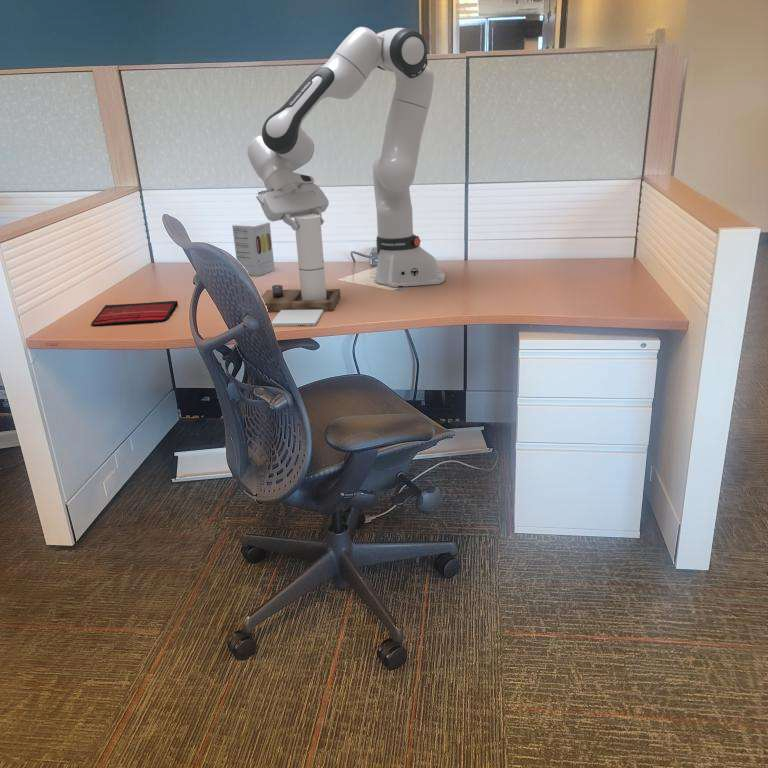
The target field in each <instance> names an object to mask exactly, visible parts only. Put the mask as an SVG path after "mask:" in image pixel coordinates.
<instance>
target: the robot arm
mask: <svg viewBox="0 0 768 768" xmlns="http://www.w3.org/2000/svg"><path fill="white" fill-rule="evenodd" d="M376 68H378V69H380V70H382V71H388V72H391V73H394V76H395V89H394V92H393V96H392V99H391V103H390V106H389V110H388V111H389V112H388V115H387V118H386V123H385V127H384V128H385V131H384V136H383V143H382V148H381V153H380V154H378V155H377V156H376V158H375V159H374V160H373V164H372V179H373V190H374V199H375V200H374V201H375V208H376V221H377V223H376V227H377V236H376V239H375V240H376V242H375V245H376V253H377V266H376V272H375V277H374V281H375V282H376V283H378V284H381V285H385V286H389V287H393V288H398V286H403V287H414V286H428V285H440V284H442V283H443V282H444V281H445V280H446V275H445V273H444V272H443V271H441V270H439V267H438V263H437V260H436V258H435V257H434V256H433V255H432V254H430V253H429V252H428V251H426V250H425V249H424V248H422V247H421V239H420V237H419V235H416V234H414V227H413V226H414V225H413V221H414V220H413V205H412V199H411V198H412V197H411V194H410V193H411V192H410V187H411V186H412V184H413V183H414V180H415V175H416V170H417V165H418V159H419V153H420V150H421V149H420V147H421V140H422V135H423V132H424V128H425V126H426V121H427V117H428V112H429V110H430V105H431V100H432V96H433V89H434V81H435V79H434V78H435V77H434V73H433V70H432V69H431V67H429V66H428V45H427V42H426V39H425V37H424V36H423V34H421V33H420V31H417V30H416V29H413V28H408V27H407V28H406V27H405V28H404V27H394V28H390V29H387V28H385V29H382V30H379V31H377V32H375V31H373V30H372V29H370V27H369V28H368V27H365V26H357V27H356V28H355V29H354V30H352V31H351V32H350V33H349V34H348V35H347V36H346V37H345V38H344V39H343V41H342V42H341V43H340V44H339V45H338V47H337V48H336V49H335V51H334V52H333V53H332V55H331V56H330V58H329V59H328V60H327V61H326V62H325V63H324V65H322V66H321V67H319V68H317V69H315V70H314V71H313V72H312V73H311V74H310V75H309V76H308V77H307V78H306V79H305V80H304V81H303V82H302V83H301V84H300V86H299V87H298V88H297V89H296V90H295V91H294V93H293V94H292V95H291V96H290V97H289V98H288V99H287V101H286V102H285V103H284V104H283V105H282V106H281V107H280V108H279V109H278V110H275V112H273V113H271V114H270V115H269V116H268V117H267V118H266V120H265V122H264V123H263V126H262V127H261V128H262V129H261V134H260V135H257V136H256V137H254V138H253V139H252V140H251V141H250V143H249V145H248V146H247V157H248V160H249V162H250V164H251V167H252V168H253V170H254V171H255V173H256V175H257V176H258V177H259V178H260V179H261V180H262V182H263V184H264V187H265V190H259V191H257V193H256V196H255V197H256V200H257V201H258V203H260V207H261V210H262V211H263V214H264V215H265V218H266V219H267V220H269V222H270V221H271V222H278V221H283V222H284V224H285V225H287V226H290V227H291V229H292V231H295V230H298V229H299V228H300V225H299V224H298V222H297V221H294V217H295V216H298V215H306V214H317V215H320V220H321V226H323V224H324V223H325V220H324V219H323V215H322V213H324V212H326V210H327V209H328V207H329V202H330V201H329V199H328V197H327V196H326V194H325V193H324V192H323V190H322V189H321V188H320V186H319V185H317V184H315V178H314V177H313V176H311V175H308V174H306V175H305V174H302V173H298V172H294V171H296V170H298V169H300V168H301V167H303V166H304V165H306V164H307V163H309V162H310V161H311V159H312V158H313V155H314V153H315V144H314V141H313V139H312V138H311V137H310V135H309V134H307V132H306V131H305V130H304V129H303V128H302V123H303V121H304V120H305V119H306V118H307V117H308V115H309V114H310V113H311V112H312V111H313V110H314V108H315V107H316V106H317V105H318V104H320V102H321V101H323V100H324V99H327V98H333V99H337V100H347V99H350V98H352V97H354V95H356V94H357V93H358V91H360V89H361V88H362V87H363V85H364V84H365V82H366V81H367V79H368V78H369V76H370V75H371V74H372V72H373V71H374V70H375V69H376Z"/></svg>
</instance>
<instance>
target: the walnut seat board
mask: <svg viewBox="0 0 768 768" xmlns="http://www.w3.org/2000/svg"><path fill="white" fill-rule="evenodd" d="M261 297H262V298H263V300H264V302H265V305H266V306H267V309H268V311H269V312H268V313H277V312H278V311H279V312H280V311H281V310H320V309H323V311H324V312H334V310H335V308H336V306H337V305H338V303H337V302H339V301H340V298H341V289H340V288H326V297H327V300H323V301H302V296H301V289H284V288H283V285H282V284H275V285H272V286H271V289H267V290H266V291H265V292H264V293H263V294H262V295H261ZM336 304H337V305H336ZM274 311H275V312H274ZM279 312H278V313H279Z"/></svg>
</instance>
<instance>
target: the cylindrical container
mask: <svg viewBox="0 0 768 768" xmlns="http://www.w3.org/2000/svg"><path fill="white" fill-rule="evenodd" d="M293 220H294V221H297V222H298V224H299V225H300V228H299V229H298V230H294V231H295V240H296V249H297V251H296V252H297V260H298V273H299V286H300V290H301V296H302V300H301V301H323V300H328V299H327V297H326V289H327V285H326V275H325V273H326V272H325V271H326V270H325V260H324V249H323V246H324V245H323V235H322V225H321V220H320V215H317V214H306V215H298V216H295V217H294V218H293Z"/></svg>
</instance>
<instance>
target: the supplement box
mask: <svg viewBox="0 0 768 768" xmlns="http://www.w3.org/2000/svg"><path fill="white" fill-rule="evenodd" d="M231 228H232V235H233V241H234V244H233V245H234V251H235V258H236V259H237V260H238V261H239V262H240V263H241V264H242V265H243V266H244V267H245V269H246V270H247V271H248V273H249V274H250V275H249V276H253V277H259V276H263V275H265V274H268V273H271V272H273V270H274V271H276V270H275V261H274V252H273V251H274V250H273V241H272V231H271V223H270V221H257V220H247V221H245V222H241V223H236V224H233V225H232V227H231ZM237 260H236V261H237Z"/></svg>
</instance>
